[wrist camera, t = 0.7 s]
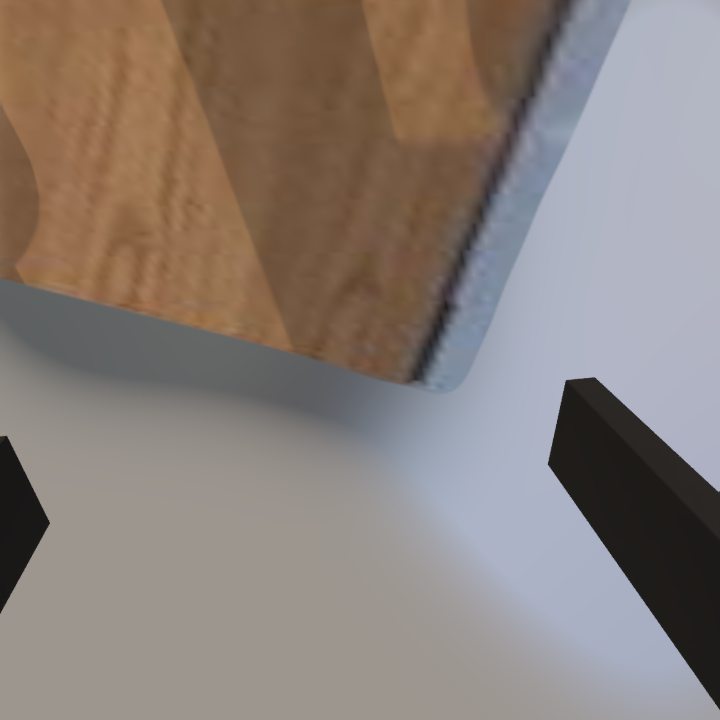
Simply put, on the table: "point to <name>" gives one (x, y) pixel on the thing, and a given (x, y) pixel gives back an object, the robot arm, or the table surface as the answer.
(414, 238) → the table surface
